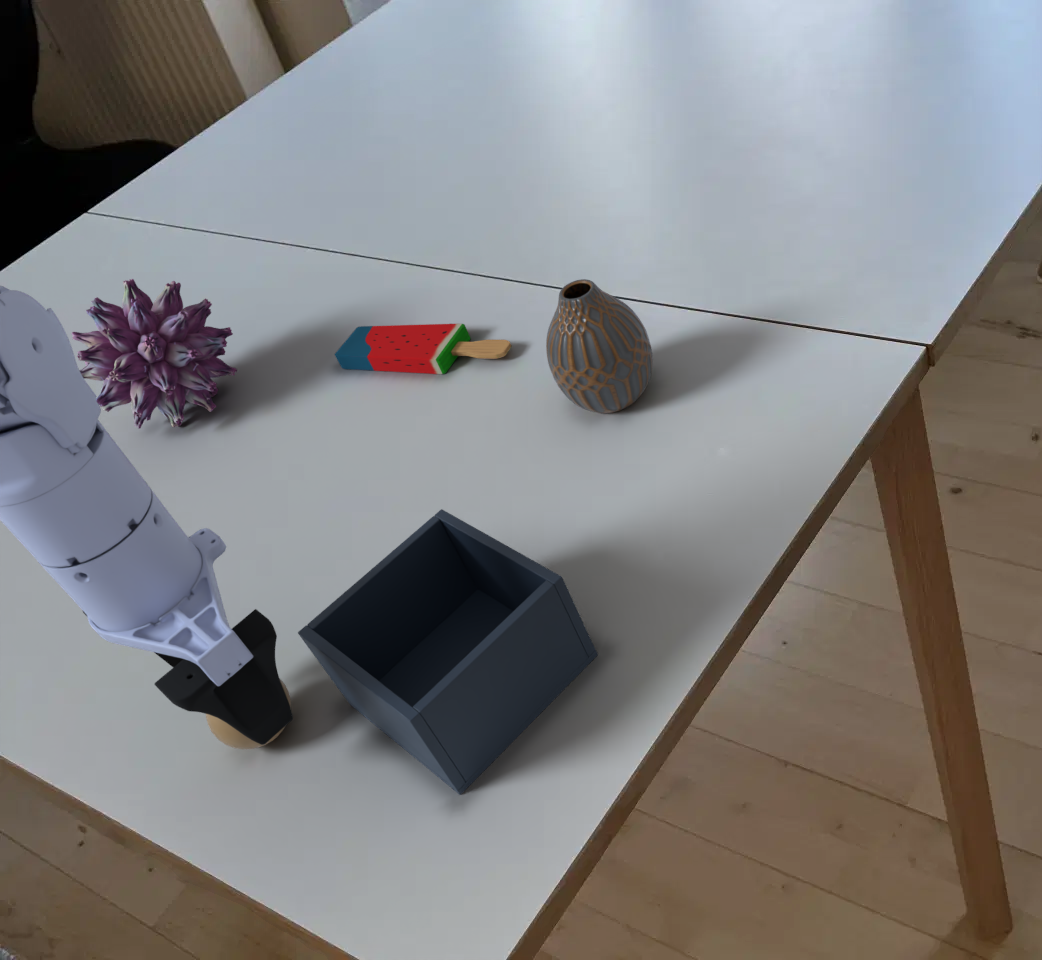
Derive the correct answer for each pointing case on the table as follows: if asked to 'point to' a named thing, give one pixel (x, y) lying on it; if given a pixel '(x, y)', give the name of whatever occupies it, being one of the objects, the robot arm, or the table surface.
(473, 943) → the table surface
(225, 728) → the brown ball
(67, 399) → the robot arm
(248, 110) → the table surface
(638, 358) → the vase
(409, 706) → the bin
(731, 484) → the table surface
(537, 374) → the table surface
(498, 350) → the popsicle
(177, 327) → the flower
